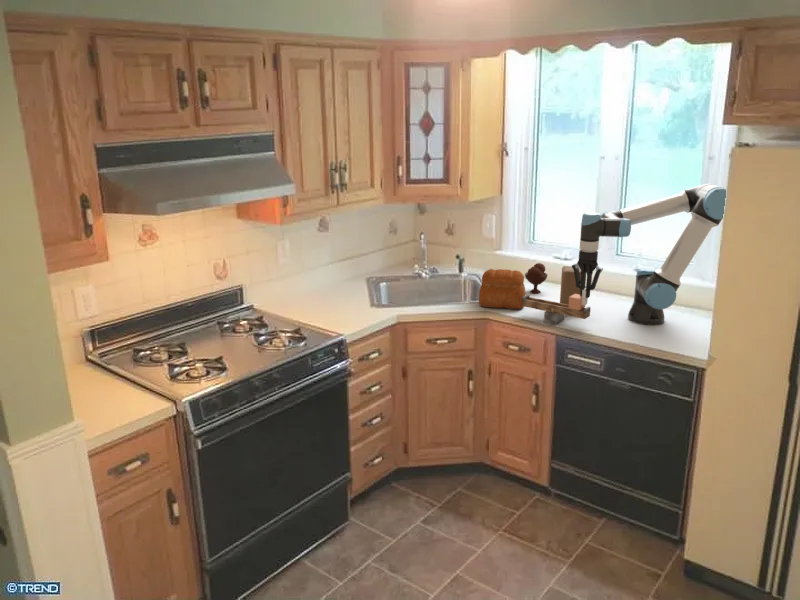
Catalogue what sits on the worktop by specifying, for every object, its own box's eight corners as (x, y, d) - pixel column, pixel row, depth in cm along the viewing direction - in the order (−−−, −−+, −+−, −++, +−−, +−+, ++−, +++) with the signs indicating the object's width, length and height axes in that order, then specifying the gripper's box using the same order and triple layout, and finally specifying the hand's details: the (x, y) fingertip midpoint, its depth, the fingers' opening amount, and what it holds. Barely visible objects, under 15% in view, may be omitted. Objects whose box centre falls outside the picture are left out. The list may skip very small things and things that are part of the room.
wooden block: (582, 314, 310) (585, 272, 304) (559, 313, 312) (562, 271, 306) (581, 308, 319) (584, 266, 313) (559, 306, 321) (562, 265, 315)
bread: (523, 311, 315) (525, 276, 310) (477, 308, 319) (478, 274, 314) (525, 300, 331) (527, 267, 326) (481, 298, 336) (482, 264, 331)
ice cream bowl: (532, 288, 352) (534, 259, 347) (550, 292, 344) (552, 263, 339) (519, 292, 345) (521, 263, 340) (537, 296, 337) (539, 267, 333)
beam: (590, 326, 295) (591, 306, 292) (582, 331, 289) (584, 310, 286) (528, 312, 313) (529, 294, 310) (519, 317, 307) (520, 298, 304)
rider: (585, 309, 293) (586, 295, 292) (579, 313, 289) (580, 299, 287) (574, 307, 296) (575, 293, 295) (568, 310, 292) (569, 296, 290)
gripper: (607, 250, 282) (602, 305, 289) (577, 246, 289) (573, 299, 296) (600, 254, 276) (595, 309, 283) (570, 249, 284) (566, 303, 291)
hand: (584, 304), depth 290 cm, fingers closed
